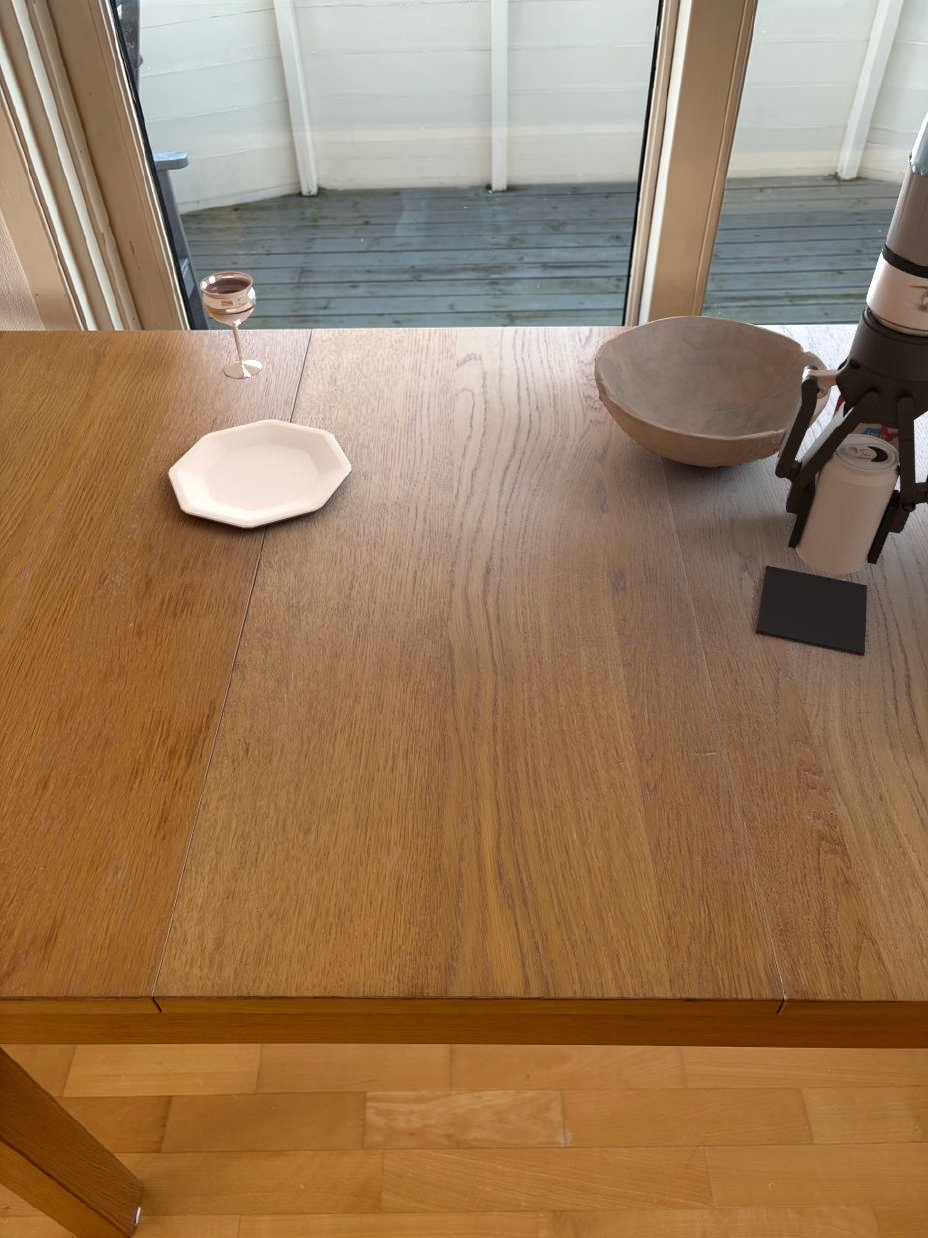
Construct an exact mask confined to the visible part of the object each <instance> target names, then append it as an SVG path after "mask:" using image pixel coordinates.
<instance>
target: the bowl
mask: <svg viewBox="0 0 928 1238" xmlns="http://www.w3.org/2000/svg"><path fill="white" fill-rule="evenodd" d="M808 365H814V366H816V367H817V368H818V370H828V367H827V366H826V365H825V363H824V362H823V360H822V359H821V358H820V357H819V356H818V355H816V354H815V353H813V352H811V351H810V350H808V351H804V347H803V346H802V344H801V343H799V341H796V340H795V339H793V338H791V337H790V336H787V335H785V334H782V333H780V332H777V331H774V330H772V329H769V328H766V327H762V326H759V325H756V324H753V323H748V322H745V321H739V320H734V319H729V318H724V317H723V318H722V317H716V316H708V315H680V316H670V317H665V318H660V319H656V320H652V321H648V322H644V323H642V324H639V325H636V326H634V327H631V328H629V329H625V330H623V331H622V332H620V333H618V334H616V335H614V336H611V337H610V338H609V339H607V340H606V341H605V342H603V344H601V345H600V346H599V348H598V349H597V351H596V353H595V355H594V369H593V370H594V371H593V374H594V379H595V380H594V381H595V385H596V387H597V389H598V390H597V391H598V399H599V400H600V402H602V404H603V406H604V408H606V410H607V412H608V413H609V414H610V416H611V417H612V419H613V420H614V421H615V422H616V424H617V425H618V426H619V427H620V428H621V430H622V431H623V432H624V433H625V434H626V435H627V436H628V437H629V438H631V439H632V440H634V441H635V442H636V443H637V444H638V445H640V446H642V447H643V448H646V449H647V450H649V451H651V452H652V453H655V454H657V455H659V456H661V457H663V458H665V459H667V460H671V461H673V462H677V463H681V464H683V465H684V464H685V465H689V466H695V467H703V468H718V467H727V466H729V467H730V466H741V465H746V464H750V463H754V462H756V461H759V460H765V459H768V458H770V457H772V456H774V455H776V454H778V453H779V451H780V448H781V446H782V443H783V441H784V438H785V436H786V433H787V431H788V428H789V426H790V423H791V420H792V418H793V415H794V413H795V410H796V408H797V405H798V403H799V400H800V398H801V384H802V377H803V371H804V368H805V367H806V366H808ZM831 392H832V387H831V388H830V389H829V390H828V393H827V395H826V396H825V397H823V398H822V399H817V404H816V409H815V412H814V415H813V417H812V419H811V422H810V424H809V427H808V429H807V431H808V430H809V429H810V428H811V427H812V425H814V423H815V422H816V421H817V419H818V418H819V416H820V415H821V414H822V412H823V411H824V410H825V408H826V406H827V404H828V402H829V400H830V396H831Z"/></svg>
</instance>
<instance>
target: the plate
mask: <svg viewBox="0 0 928 1238" xmlns="http://www.w3.org/2000/svg"><path fill="white" fill-rule="evenodd" d="M351 473H352V464H351V463H350V461H349V459H348V458H347V456H346V454H345V453H344V452H343V450H342V448H341V446H340V445H339V444H338V442H337V441H336V438H335V436H334V435H333V434H332V433H331V432H329V431H327V430H325V429H320V428H315V427H311V426H306V425H302V424H298V423H293V422H288V421H283V420H279V419H264V420H259V421H255V422H251V423H246V424H242V425H238V426H233V427H230V428H225V429H221V430H216V431H212V432H208V433H206V434H205V435H203V436H202V437H201V438H200V439H199V440H198V441H197V442H196V443H195V444H194V445H192V447H191V448H190V449H188V451H186V452H185V453H184V454H183V455H182V456H181V457H180V459H178V460H177V461H176V462H174V464H173V465H172V466H171V467H170V468H169V469H168V472H167V476H168V480H169V481H170V484H171V486H172V489H173V491H174V492H173V493H174V494H175V497H176V499H177V502H178V505H179V507H180V511H181V512H183V513H184V514H185V515H187V516H190V517H193V518H198V519H202V520H206V521H210V522H214V523H219V524H221V525H226V526H231V527H233V528H238V529H242V530H255V529H258V528H262V527H267V526H270V525H273V524H276V523H281V522H284V521H288V520H292V519H295V518H299V517H302V516H307V515H311V514H314V513H317V512H318V511H320V510H322V509H323V508H324V507H325V506H326V504H327V503H328V502H329V501H330V499H331V498H332V497H333V495H334V494H335V493H336V492H337V490H339V488H340V487H341V485H342V484H343V483H344V482H345V480H346V479H347V478H348V477H349V476H350V474H351Z"/></svg>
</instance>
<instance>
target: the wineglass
mask: <svg viewBox="0 0 928 1238" xmlns="http://www.w3.org/2000/svg"><path fill="white" fill-rule="evenodd" d="M253 282H254V280H253V277H251V275H249V274H247V273H245V272H240V271H221V272H216V273H213V274H210V275H208V276H206V277H204V278H203V279H202V280H201V281H200V283H199V289H200V290H201V292H203V293H202V295H201V299H202V305H203V307H204V310H205V311H206V313H207V314H208V315H209V316H210V317H211V318H212V319H214V320H216V321H217V322H219V323H221V324H225V325H228V326H229V327H231V331H232V334H233V338H234V342H235V347H236V351H237V355H238V359H237V360H234V361H231V362H229V363H227V364H226V366H225V367H224V369H223V371H224V374H225V375H226V376H228V377H230V378H235V379H245V378H249V377H250V378H251V377H252V376H255V375H256V374H258V373H259V372H260V371H261V369H262V365H261V363H260V362H259V361H257V360H254V359H250V358H243V354H242V353H243V352H242V347H241V340H240V332H239V325H240V324H241V323H243V322H244V321H246V320H247V319H249V317H250V316H251V315H252V314H253V312H254V311H255V309H256V304H257V301H258V299H257V294H256V291H255V289H254V288H253V286H252V285H253Z"/></svg>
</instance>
